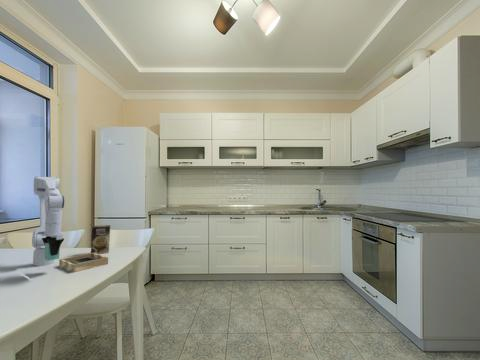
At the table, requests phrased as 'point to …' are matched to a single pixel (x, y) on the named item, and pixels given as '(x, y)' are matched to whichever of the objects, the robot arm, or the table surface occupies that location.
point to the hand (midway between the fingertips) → (52, 254)
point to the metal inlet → (82, 260)
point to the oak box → (85, 265)
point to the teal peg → (48, 254)
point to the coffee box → (100, 239)
